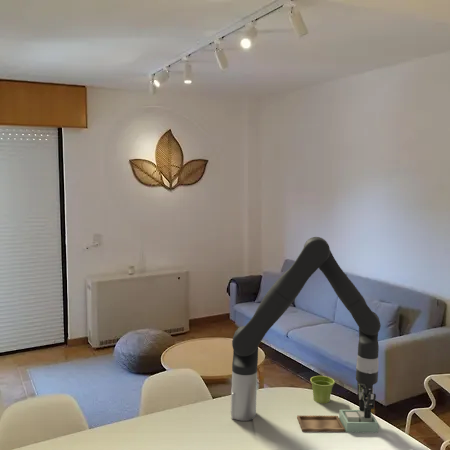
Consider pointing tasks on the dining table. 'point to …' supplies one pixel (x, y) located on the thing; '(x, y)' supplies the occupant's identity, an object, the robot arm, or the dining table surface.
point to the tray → (320, 424)
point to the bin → (358, 423)
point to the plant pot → (322, 388)
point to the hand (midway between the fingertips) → (364, 413)
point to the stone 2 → (362, 418)
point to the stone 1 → (352, 416)
